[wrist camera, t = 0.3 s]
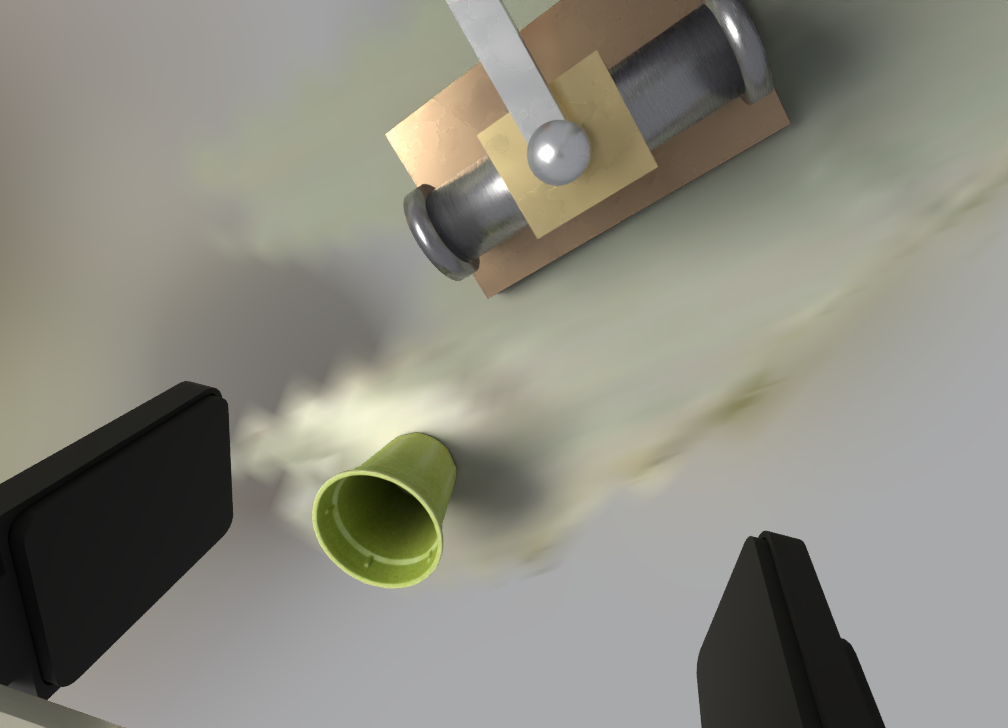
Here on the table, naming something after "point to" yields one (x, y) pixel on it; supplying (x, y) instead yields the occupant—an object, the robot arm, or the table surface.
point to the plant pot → (388, 513)
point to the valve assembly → (603, 116)
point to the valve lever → (524, 91)
